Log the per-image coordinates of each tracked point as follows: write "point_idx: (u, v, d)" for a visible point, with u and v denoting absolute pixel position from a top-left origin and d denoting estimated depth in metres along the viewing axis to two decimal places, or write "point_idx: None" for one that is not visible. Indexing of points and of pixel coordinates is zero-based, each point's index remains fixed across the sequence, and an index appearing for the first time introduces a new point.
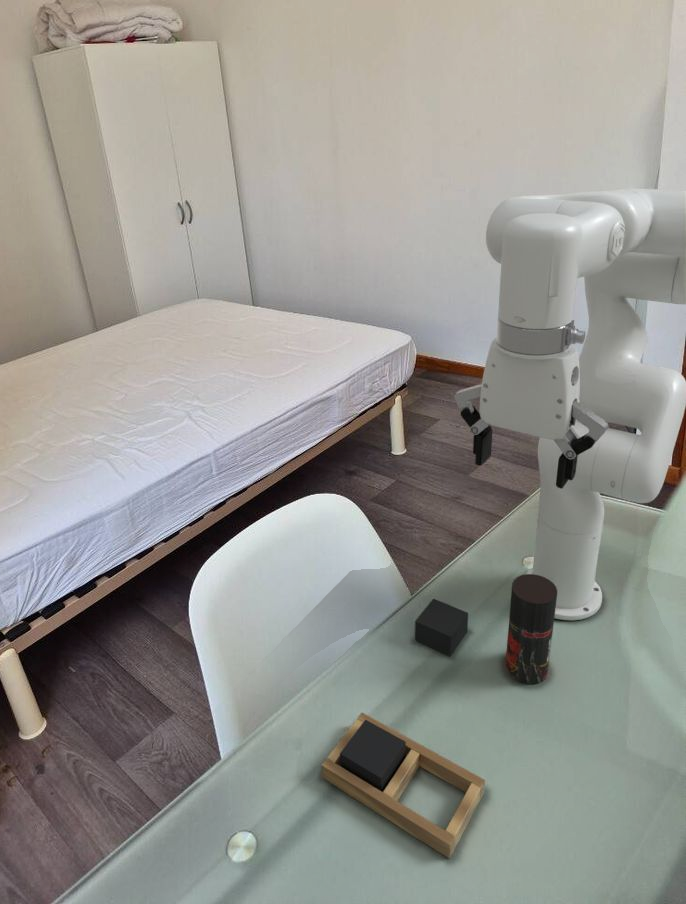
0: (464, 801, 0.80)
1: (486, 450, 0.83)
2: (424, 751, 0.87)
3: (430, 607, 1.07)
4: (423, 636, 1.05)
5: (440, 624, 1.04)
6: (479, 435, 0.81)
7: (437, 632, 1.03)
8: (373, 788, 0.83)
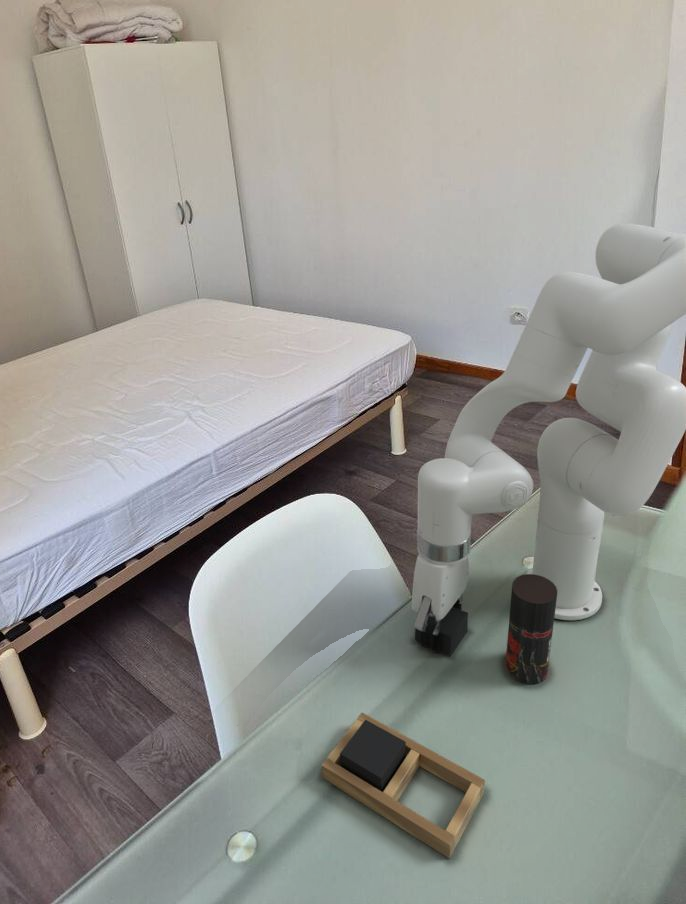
0: (464, 801, 0.80)
1: None
2: (424, 751, 0.87)
3: None
4: None
5: None
6: None
7: None
8: (373, 788, 0.83)
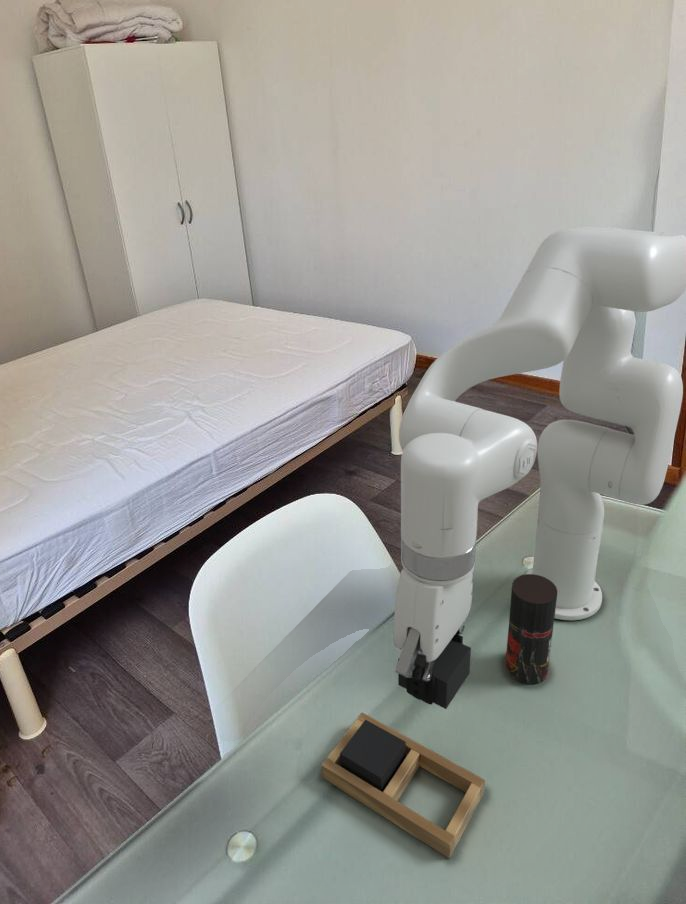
0: (464, 801, 0.80)
1: None
2: (424, 751, 0.87)
3: None
4: None
5: None
6: None
7: None
8: (373, 788, 0.83)
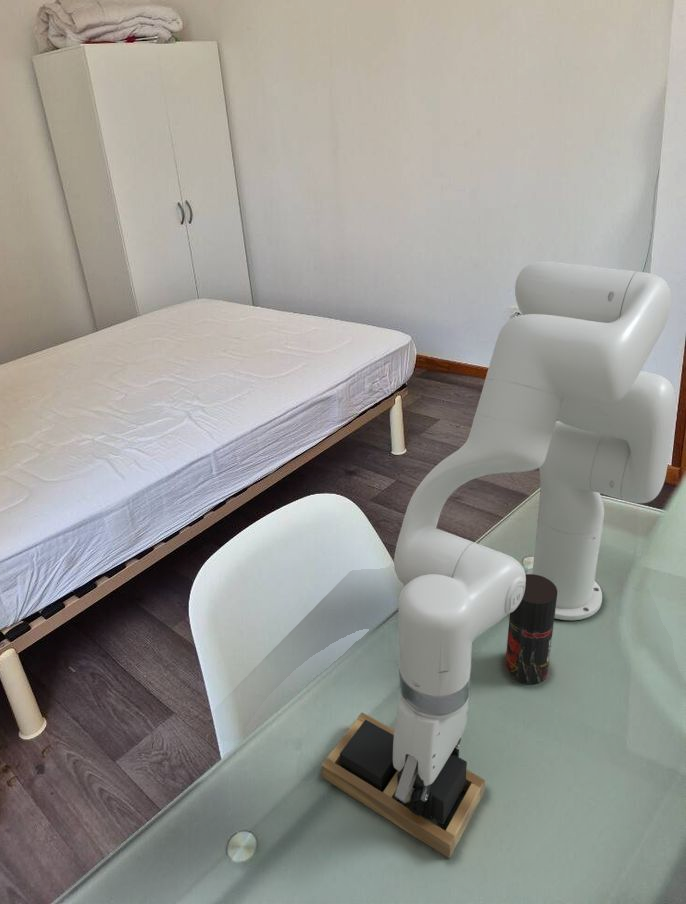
0: (464, 801, 0.80)
1: None
2: None
3: None
4: None
5: None
6: (427, 795, 0.77)
7: None
8: (373, 788, 0.83)
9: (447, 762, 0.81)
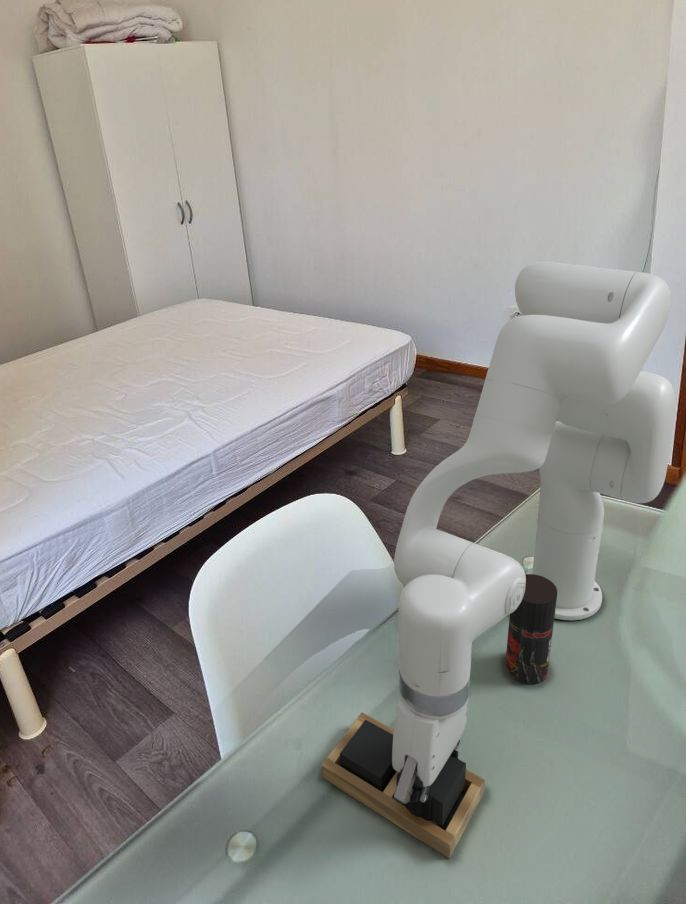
0: (464, 801, 0.80)
1: None
2: None
3: None
4: None
5: None
6: None
7: None
8: (373, 788, 0.83)
9: (446, 763, 0.81)
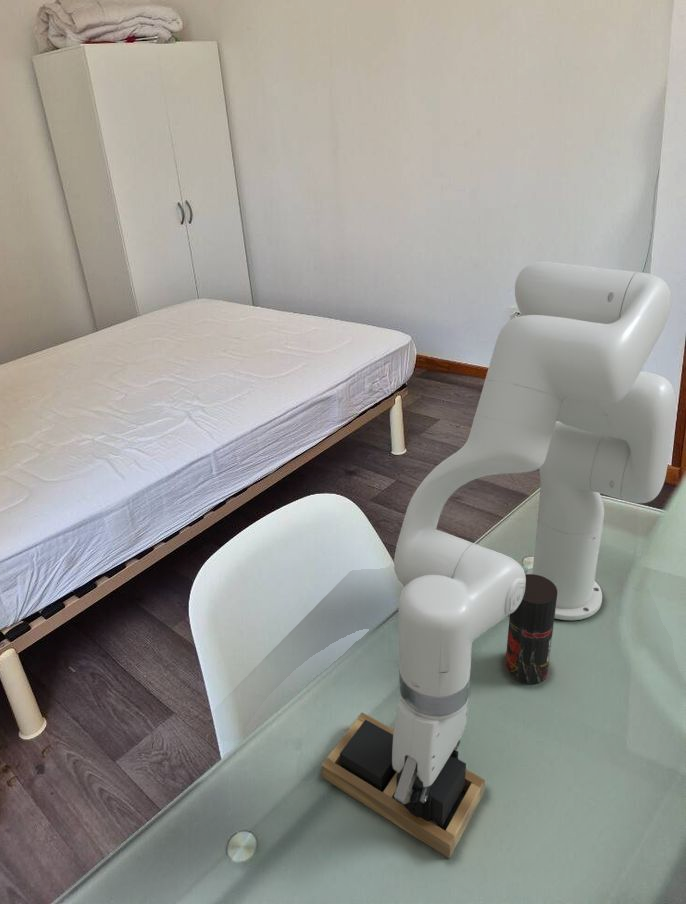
0: (464, 801, 0.80)
1: None
2: None
3: None
4: None
5: None
6: None
7: None
8: (373, 788, 0.83)
9: (446, 764, 0.81)
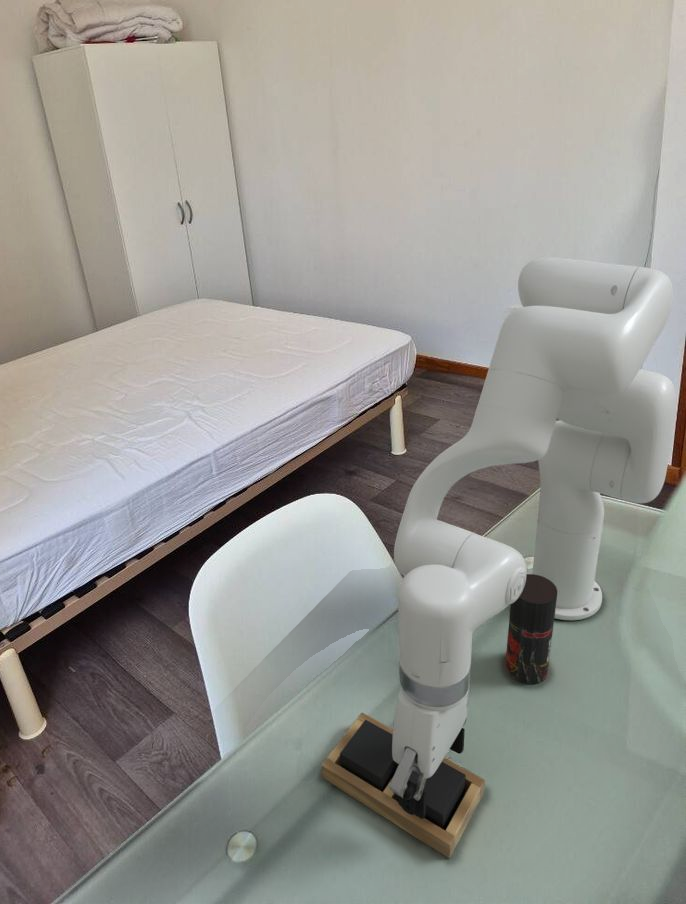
0: (464, 801, 0.80)
1: None
2: None
3: None
4: None
5: (430, 793, 0.80)
6: None
7: (426, 806, 0.79)
8: (373, 788, 0.83)
9: (446, 775, 0.82)
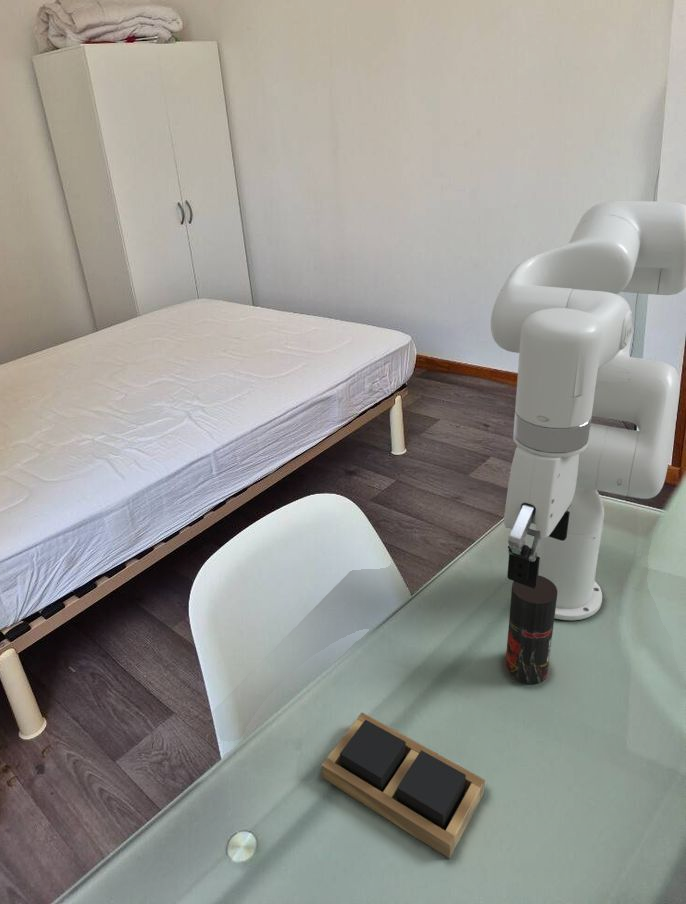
0: (464, 801, 0.80)
1: None
2: (424, 751, 0.87)
3: (417, 765, 0.83)
4: (407, 806, 0.81)
5: (430, 793, 0.80)
6: None
7: (426, 806, 0.79)
8: (373, 788, 0.83)
9: (446, 775, 0.82)
